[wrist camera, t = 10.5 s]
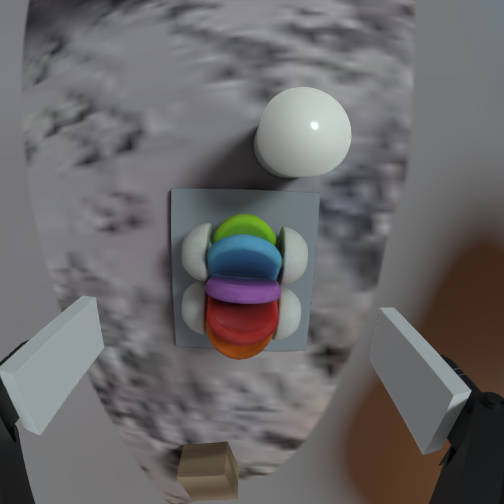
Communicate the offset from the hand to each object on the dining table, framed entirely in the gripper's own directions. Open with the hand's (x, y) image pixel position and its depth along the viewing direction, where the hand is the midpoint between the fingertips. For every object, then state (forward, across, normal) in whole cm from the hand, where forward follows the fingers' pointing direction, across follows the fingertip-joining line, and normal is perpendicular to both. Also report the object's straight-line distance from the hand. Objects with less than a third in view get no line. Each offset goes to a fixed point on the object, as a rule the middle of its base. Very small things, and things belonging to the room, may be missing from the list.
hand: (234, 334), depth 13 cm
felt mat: (+11, 0, -1) cm, 11 cm away
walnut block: (+11, -3, -23) cm, 25 cm away
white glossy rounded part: (+11, +3, +9) cm, 15 cm away
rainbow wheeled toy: (+11, 0, -1) cm, 11 cm away
